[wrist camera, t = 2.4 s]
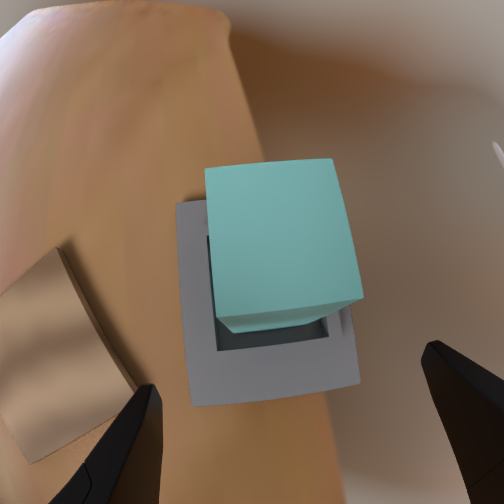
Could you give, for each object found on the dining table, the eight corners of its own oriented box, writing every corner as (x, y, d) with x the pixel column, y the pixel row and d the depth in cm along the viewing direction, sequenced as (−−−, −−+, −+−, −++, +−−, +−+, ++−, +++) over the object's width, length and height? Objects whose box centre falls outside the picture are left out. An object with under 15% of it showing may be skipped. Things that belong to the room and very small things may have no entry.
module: (304, 325, 20) (364, 297, 9) (234, 334, 20) (216, 317, 9) (293, 250, 21) (332, 158, 11) (226, 258, 21) (204, 168, 11)
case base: (355, 382, 20) (371, 386, 17) (194, 403, 19) (185, 412, 16) (323, 194, 24) (332, 174, 21) (178, 209, 23) (169, 190, 20)
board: (144, 397, 19) (138, 399, 18) (37, 461, 17) (29, 464, 16) (63, 251, 22) (55, 246, 21) (-24, 331, 20) (-33, 330, 19)
